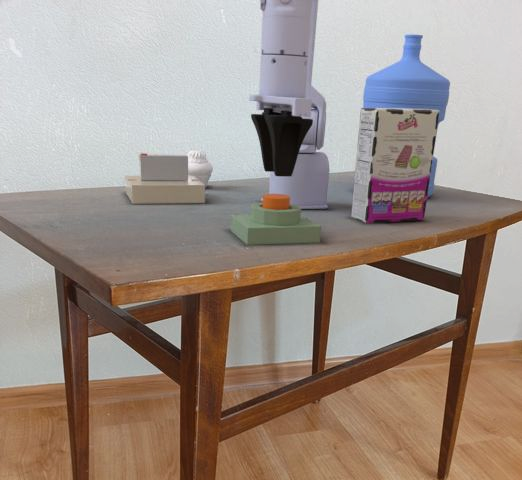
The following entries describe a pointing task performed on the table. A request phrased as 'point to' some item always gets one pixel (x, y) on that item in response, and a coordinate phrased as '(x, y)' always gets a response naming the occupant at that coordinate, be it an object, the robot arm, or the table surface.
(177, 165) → the gray rectangular brick
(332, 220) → the table surface
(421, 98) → the water jug
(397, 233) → the table surface
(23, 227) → the table surface
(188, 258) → the table surface
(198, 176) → the muffin
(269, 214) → the switch
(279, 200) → the button
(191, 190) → the base
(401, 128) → the candy bar box
